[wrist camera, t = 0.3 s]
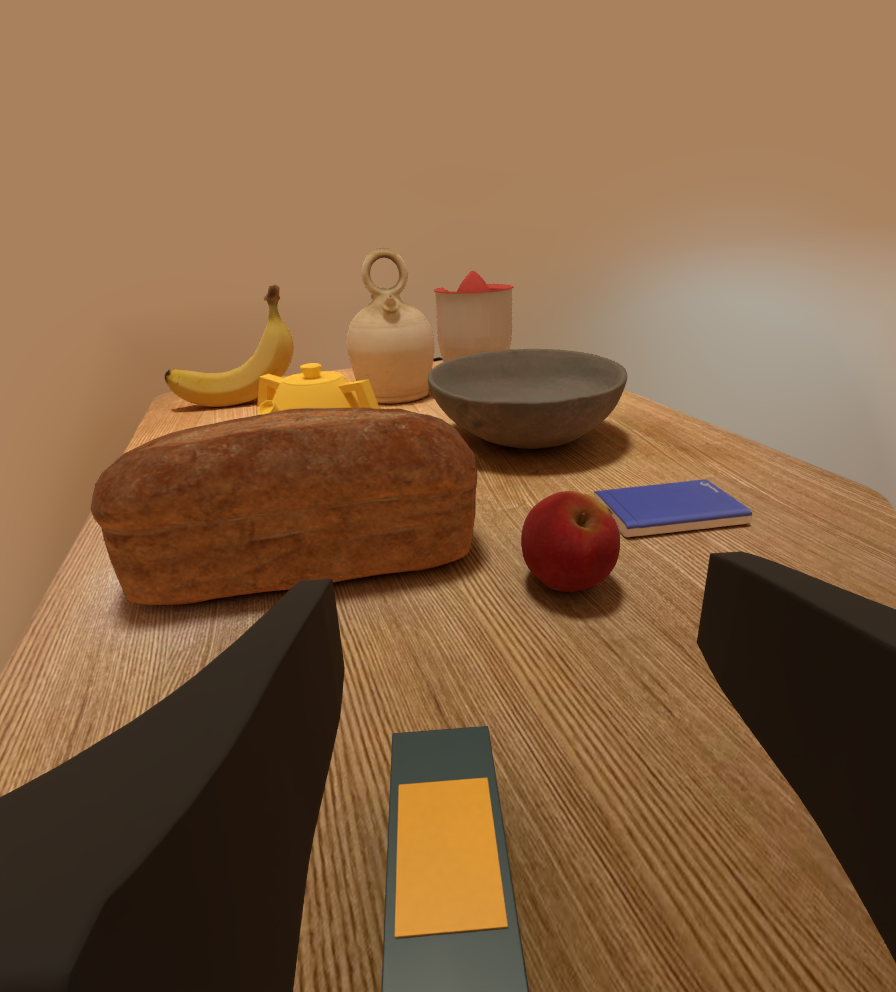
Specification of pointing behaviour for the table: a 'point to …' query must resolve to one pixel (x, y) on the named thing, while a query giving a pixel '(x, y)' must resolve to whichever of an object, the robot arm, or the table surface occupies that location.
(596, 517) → the apple
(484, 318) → the citrus juicer
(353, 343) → the jug
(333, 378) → the teapot
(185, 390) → the banana
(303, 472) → the bread
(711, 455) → the table surface
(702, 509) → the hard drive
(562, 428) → the bowl
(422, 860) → the packet
